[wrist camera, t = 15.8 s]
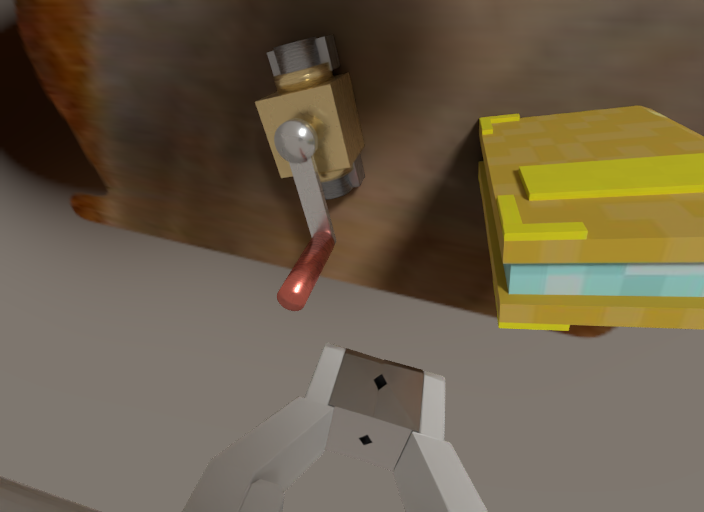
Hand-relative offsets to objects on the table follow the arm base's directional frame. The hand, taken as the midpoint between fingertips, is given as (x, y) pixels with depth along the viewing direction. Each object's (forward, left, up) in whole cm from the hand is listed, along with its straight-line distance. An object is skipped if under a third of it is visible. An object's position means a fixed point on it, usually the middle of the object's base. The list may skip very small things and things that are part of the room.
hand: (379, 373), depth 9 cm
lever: (+10, -10, -28) cm, 31 cm away
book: (+2, +14, -37) cm, 40 cm away
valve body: (+5, -12, -37) cm, 39 cm away
